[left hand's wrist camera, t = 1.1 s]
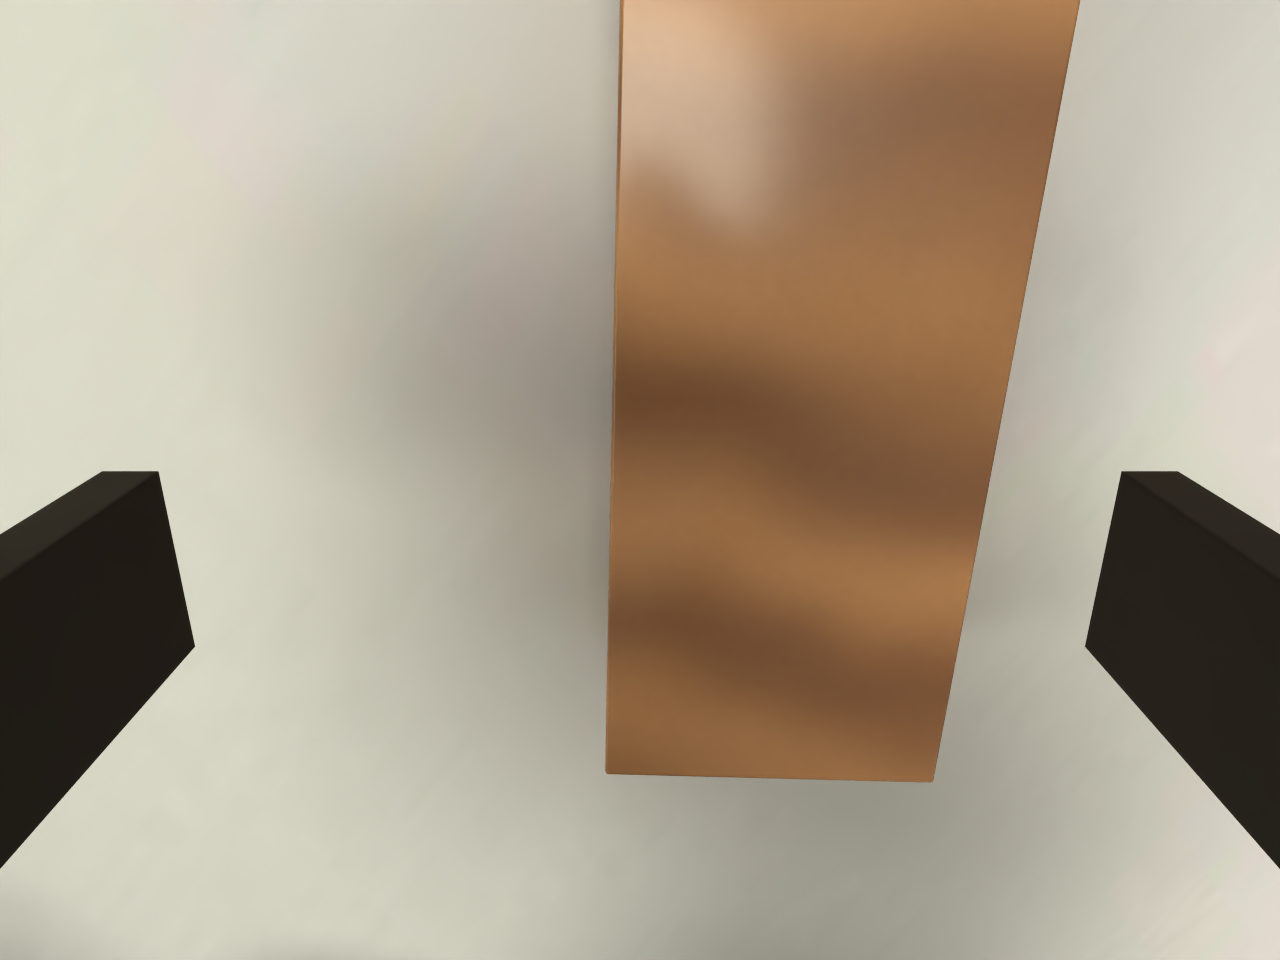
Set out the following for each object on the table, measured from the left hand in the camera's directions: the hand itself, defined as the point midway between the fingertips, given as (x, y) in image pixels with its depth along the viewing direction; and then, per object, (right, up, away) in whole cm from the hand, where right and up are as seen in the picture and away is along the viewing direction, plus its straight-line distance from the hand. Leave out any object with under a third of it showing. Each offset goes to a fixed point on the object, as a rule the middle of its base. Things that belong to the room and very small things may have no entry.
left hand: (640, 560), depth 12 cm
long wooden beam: (+5, +23, +8) cm, 25 cm away
